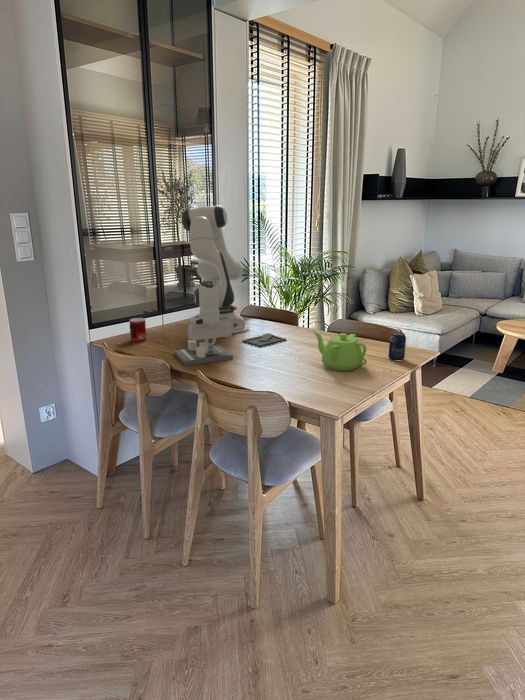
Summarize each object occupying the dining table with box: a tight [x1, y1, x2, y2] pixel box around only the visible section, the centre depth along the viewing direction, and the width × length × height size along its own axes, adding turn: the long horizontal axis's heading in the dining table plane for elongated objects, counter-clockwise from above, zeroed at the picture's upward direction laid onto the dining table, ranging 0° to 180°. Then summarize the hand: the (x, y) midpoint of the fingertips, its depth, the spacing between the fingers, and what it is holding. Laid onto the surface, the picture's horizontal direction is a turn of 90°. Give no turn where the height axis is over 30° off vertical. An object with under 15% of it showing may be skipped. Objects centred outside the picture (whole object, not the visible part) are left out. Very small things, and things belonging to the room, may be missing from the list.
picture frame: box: [241, 333, 287, 348], centre depth 248 cm, size 13×2×18 cm
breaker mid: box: [198, 341, 208, 353], centre depth 222 cm, size 3×4×4 cm
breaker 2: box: [196, 346, 205, 358], centre depth 216 cm, size 3×4×4 cm
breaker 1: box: [187, 339, 198, 351], centre depth 226 cm, size 3×4×4 cm
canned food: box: [129, 317, 147, 343], centre depth 249 cm, size 8×8×11 cm
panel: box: [173, 344, 234, 367], centre depth 223 cm, size 22×18×2 cm
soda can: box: [388, 331, 407, 361], centre depth 217 cm, size 7×7×12 cm
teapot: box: [312, 331, 368, 372], centre depth 208 cm, size 19×20×14 cm
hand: (210, 347), depth 223 cm, fingers closed
